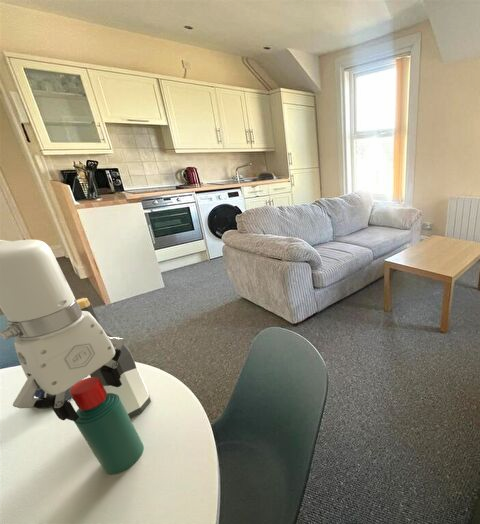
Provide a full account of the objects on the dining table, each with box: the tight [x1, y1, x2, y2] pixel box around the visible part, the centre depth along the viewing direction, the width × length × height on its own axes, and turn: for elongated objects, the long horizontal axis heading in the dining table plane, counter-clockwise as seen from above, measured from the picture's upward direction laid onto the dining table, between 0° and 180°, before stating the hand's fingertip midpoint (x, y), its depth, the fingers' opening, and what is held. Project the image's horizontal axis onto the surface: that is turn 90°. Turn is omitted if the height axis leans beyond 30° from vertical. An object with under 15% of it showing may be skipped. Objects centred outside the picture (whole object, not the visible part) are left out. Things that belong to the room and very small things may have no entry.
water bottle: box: [73, 393, 145, 475], centre depth 54 cm, size 7×7×19 cm
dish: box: [33, 380, 82, 401], centre depth 73 cm, size 9×9×3 cm
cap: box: [70, 376, 107, 410], centre depth 51 cm, size 4×4×4 cm
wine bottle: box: [76, 297, 152, 419], centre depth 63 cm, size 8×8×30 cm
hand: (94, 399), depth 52 cm, fingers open, 6 cm apart
